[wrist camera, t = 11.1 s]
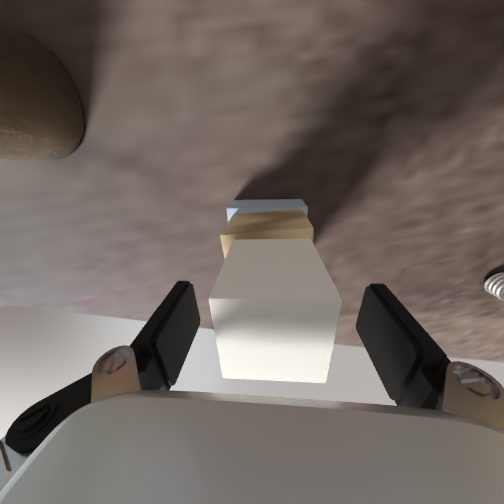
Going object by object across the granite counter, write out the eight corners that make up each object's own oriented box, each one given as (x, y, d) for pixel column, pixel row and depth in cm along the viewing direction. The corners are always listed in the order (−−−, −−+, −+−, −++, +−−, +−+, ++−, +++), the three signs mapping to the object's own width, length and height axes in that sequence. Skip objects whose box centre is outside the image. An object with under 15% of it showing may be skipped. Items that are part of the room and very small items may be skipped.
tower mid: (301, 208, 17) (313, 227, 12) (301, 269, 19) (311, 303, 15) (232, 215, 17) (220, 235, 13) (241, 272, 20) (234, 305, 15)
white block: (310, 238, 12) (342, 300, 7) (304, 300, 15) (325, 383, 9) (233, 239, 13) (208, 298, 8) (238, 299, 15) (222, 377, 10)
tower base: (301, 198, 20) (307, 207, 17) (296, 258, 23) (301, 276, 20) (234, 199, 21) (226, 208, 17) (238, 257, 24) (232, 275, 20)
